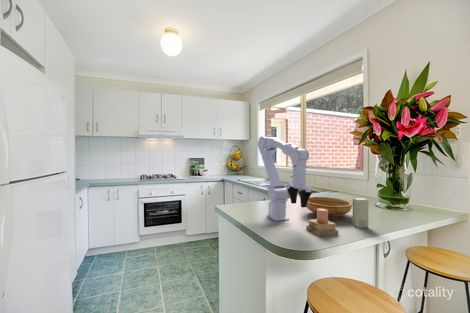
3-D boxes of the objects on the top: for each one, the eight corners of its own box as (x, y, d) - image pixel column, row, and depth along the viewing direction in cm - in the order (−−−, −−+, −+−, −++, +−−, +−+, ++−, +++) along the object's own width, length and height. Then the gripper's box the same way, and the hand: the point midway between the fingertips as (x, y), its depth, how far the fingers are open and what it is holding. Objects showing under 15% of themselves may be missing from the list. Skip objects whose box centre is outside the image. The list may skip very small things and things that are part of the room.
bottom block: (306, 231, 97) (306, 225, 97) (323, 229, 100) (323, 223, 100) (320, 238, 88) (320, 232, 88) (338, 236, 91) (338, 230, 91)
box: (362, 224, 104) (363, 197, 104) (368, 228, 100) (369, 199, 100) (351, 224, 104) (352, 197, 104) (357, 228, 100) (357, 199, 99)
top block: (308, 225, 96) (308, 220, 96) (322, 223, 99) (322, 218, 99) (320, 231, 89) (320, 225, 89) (335, 229, 92) (335, 223, 92)
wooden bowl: (315, 224, 104) (316, 207, 104) (291, 211, 128) (291, 197, 128) (368, 220, 111) (368, 204, 111) (335, 208, 134) (336, 195, 134)
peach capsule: (314, 220, 96) (314, 209, 95) (323, 219, 97) (323, 208, 97) (321, 223, 91) (321, 212, 91) (330, 222, 93) (330, 211, 92)
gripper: (282, 173, 106) (282, 202, 106) (301, 177, 92) (300, 209, 92) (295, 173, 108) (295, 201, 108) (315, 176, 94) (314, 208, 94)
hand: (298, 205), depth 100 cm, fingers open, 7 cm apart
